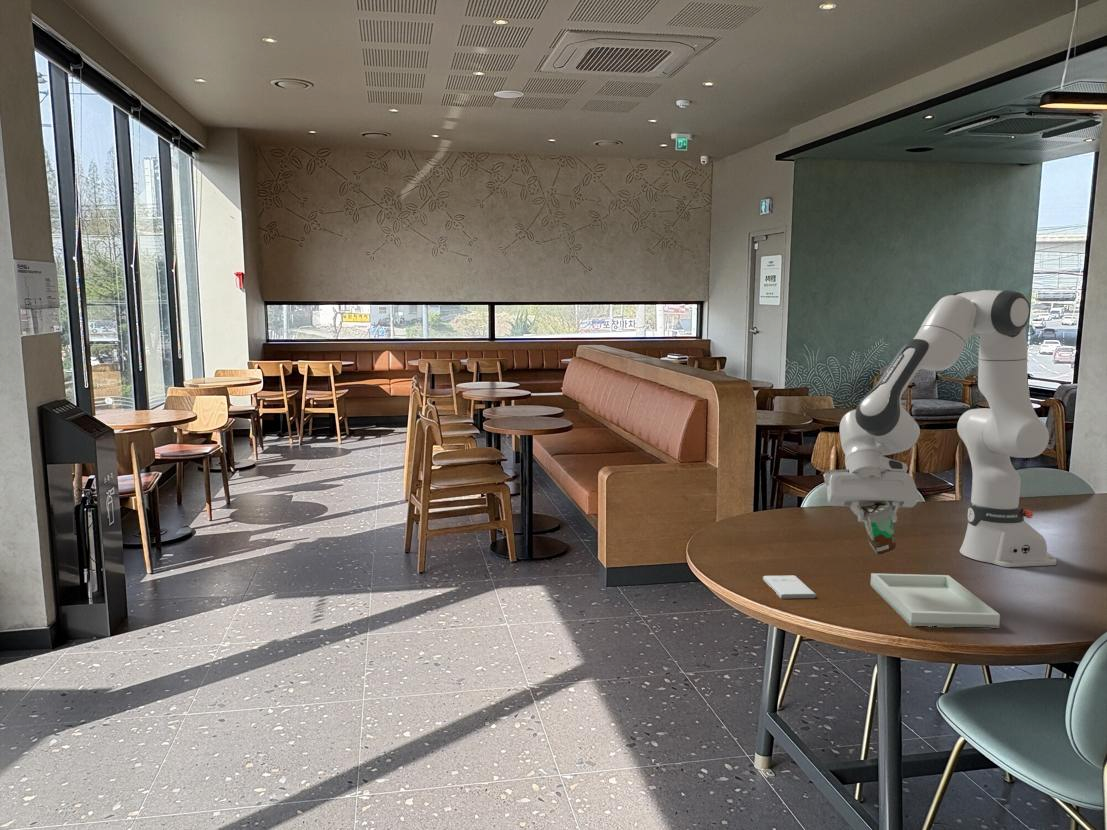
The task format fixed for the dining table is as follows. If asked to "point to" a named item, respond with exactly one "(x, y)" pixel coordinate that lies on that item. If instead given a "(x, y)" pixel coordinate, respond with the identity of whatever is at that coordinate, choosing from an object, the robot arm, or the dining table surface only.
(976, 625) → the tray
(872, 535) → the food container
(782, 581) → the external hard drive
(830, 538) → the dining table surface
